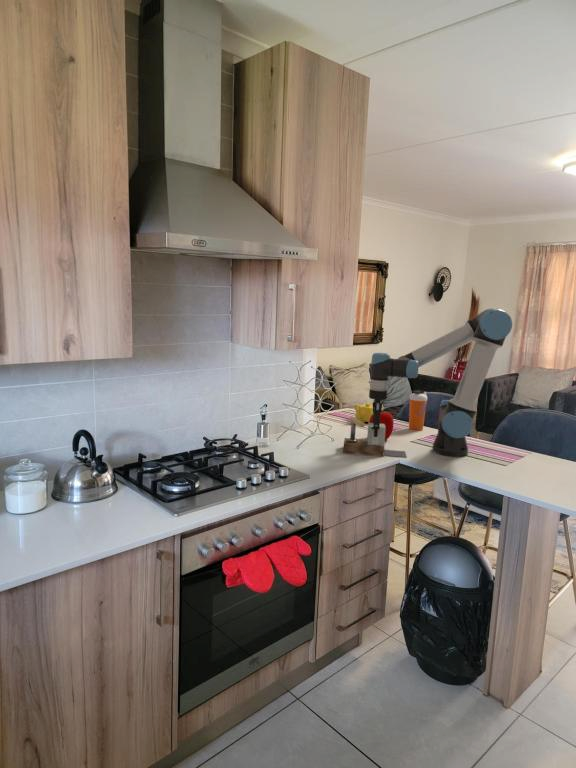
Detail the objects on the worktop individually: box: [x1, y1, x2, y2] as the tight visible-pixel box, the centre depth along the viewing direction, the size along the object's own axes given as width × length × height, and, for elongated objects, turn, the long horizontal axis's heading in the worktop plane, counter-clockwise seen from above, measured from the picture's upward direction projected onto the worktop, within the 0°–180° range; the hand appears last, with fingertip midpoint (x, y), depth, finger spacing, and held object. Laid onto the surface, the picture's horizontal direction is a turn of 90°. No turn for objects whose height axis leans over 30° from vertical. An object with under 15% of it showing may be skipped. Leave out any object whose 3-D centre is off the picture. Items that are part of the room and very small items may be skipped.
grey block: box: [366, 423, 386, 447], centre depth 227 cm, size 7×7×8 cm
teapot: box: [354, 402, 384, 424], centre depth 287 cm, size 14×13×10 cm
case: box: [343, 437, 385, 457], centre depth 229 cm, size 17×10×4 cm, turn 82°
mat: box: [384, 449, 408, 459], centre depth 227 cm, size 9×9×1 cm
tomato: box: [369, 409, 394, 441], centre depth 250 cm, size 13×11×14 cm
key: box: [347, 416, 366, 442], centre depth 225 cm, size 11×4×10 cm, turn 17°
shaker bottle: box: [408, 389, 428, 432], centre depth 274 cm, size 9×9×20 cm
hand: (374, 441), depth 228 cm, fingers open, 9 cm apart
